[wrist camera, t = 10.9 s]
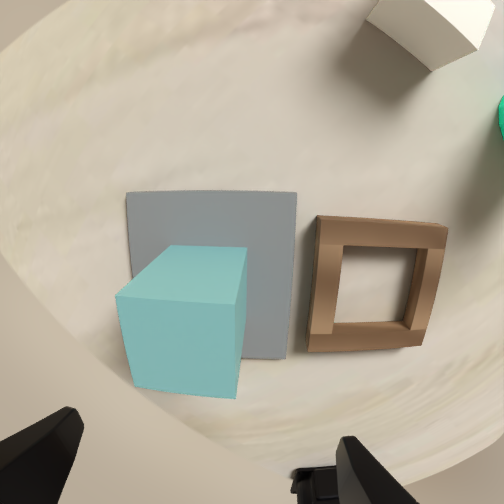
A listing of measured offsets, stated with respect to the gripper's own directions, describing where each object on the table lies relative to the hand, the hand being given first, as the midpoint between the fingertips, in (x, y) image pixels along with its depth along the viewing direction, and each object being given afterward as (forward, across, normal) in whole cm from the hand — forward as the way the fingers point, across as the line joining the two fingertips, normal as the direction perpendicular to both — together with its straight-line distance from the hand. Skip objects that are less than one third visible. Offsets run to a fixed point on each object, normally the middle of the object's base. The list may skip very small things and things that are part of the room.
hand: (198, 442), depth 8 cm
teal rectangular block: (+12, +2, 0) cm, 12 cm away
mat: (+13, +2, 0) cm, 13 cm away
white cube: (+13, -13, -20) cm, 27 cm away
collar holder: (+13, -10, 0) cm, 16 cm away
